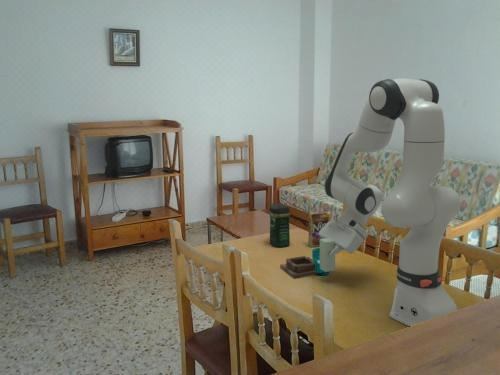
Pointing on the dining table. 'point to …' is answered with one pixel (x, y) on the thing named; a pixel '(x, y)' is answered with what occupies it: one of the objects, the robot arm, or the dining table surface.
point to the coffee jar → (279, 225)
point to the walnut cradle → (299, 267)
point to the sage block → (325, 260)
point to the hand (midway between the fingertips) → (325, 253)
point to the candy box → (317, 226)
